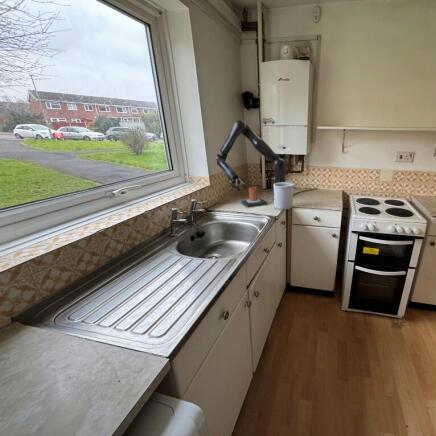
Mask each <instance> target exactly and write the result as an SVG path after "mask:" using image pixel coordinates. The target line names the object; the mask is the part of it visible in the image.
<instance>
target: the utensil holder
mask: <svg viewBox="0 0 436 436" xmlns="http://www.w3.org/2000/svg"><path fill="white" fill-rule="evenodd" d="M272 186H273V201H274V202H273V203H274V209H277V210H283V211H284V210H285V211H286V210H290V209H293V206H294V195H293V194H294V183H292V182H287V181H286V182H281V183H275V182H274V183H273V185H272Z"/></svg>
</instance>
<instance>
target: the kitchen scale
mask: <svg viewBox="0 0 436 436" xmlns="http://www.w3.org/2000/svg"><path fill="white" fill-rule="evenodd" d="M241 204H242V205H243V206H245V207H246V208H254V207H260V206H267V205H268V201H266V200H265V199H263V198H261V197H257V201H250V200H249V198H248V199H244V200H241Z"/></svg>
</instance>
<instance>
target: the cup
mask: <svg viewBox="0 0 436 436" xmlns="http://www.w3.org/2000/svg"><path fill="white" fill-rule="evenodd" d="M257 198H258V187H256V186H250V187H248V199H249V200H250V201H257Z"/></svg>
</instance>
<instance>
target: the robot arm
mask: <svg viewBox="0 0 436 436" xmlns="http://www.w3.org/2000/svg"><path fill="white" fill-rule="evenodd" d="M240 135H243V136H244V137H245V138H246V139H247V140H248V141H249V143H250V144H251V146H252V147H253V148H254V149H255V150H256V151H257V152H258V153H259V154H261V156H263V157H265V158H266V159H268V161H269V162H271V164H272V165H273V169H274V170H273V171H274V184H275V183H281V182H287V181H286V180H287V179H286V178H287V177H286V176H287V173H286V170H287V167H286V162H285V160H284V159H283V158H281V157H280V156H279V155H278V154H277V153H275V152H274V150H273V149H272V147H270V145H269V144H268V143H267V142H266V141H265V140H264V139H262V138H261V137H260V135H258V134H257V133H256V132H255V131H253V129H252V128H251V126H249V125H248V123H247V122H246V121H245V120H243V119H237V120H235V121H234V123H233V125H232V128H231V130H230V132H229V134H228V136H227V137H226V139H225V140H224V142H223V144H222V145H221V147H220V148H219V152H220V154H221V155H220V154H218V153H216V154H217V156H216V160H217V164H216V165H217V166H218V167H219V168H220V169H221V170H222V172H223V173H224V174H225V176H226V178H228V180H229V182H228V183H229V185H230V186H231V187H232V188H235V189H236V191H238V192H240V191H241V188H240V186H242V188H244V189H245V190H247V189H248V186H247V185H246V184H247V182H246V180H244V178H243V177H240V178H239V175H238V174H237V172H236V171H235V170H234V169H233V167H232V166H231V165H230V164H229V163H228V162H226V161H227V157H228V155H229V153H230V151H231V150H232V149H233V146H234V144H235V142H236V140H237V139H238V138H239V136H240ZM238 185H239V186H238ZM313 190H314V191H315V190H317V188H316V187H315V188H311V189H310V188H309V189H306V190H301V191H297V192H295V193H293V196H294V195H297V194H300V193H302V192H309V191H313Z"/></svg>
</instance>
